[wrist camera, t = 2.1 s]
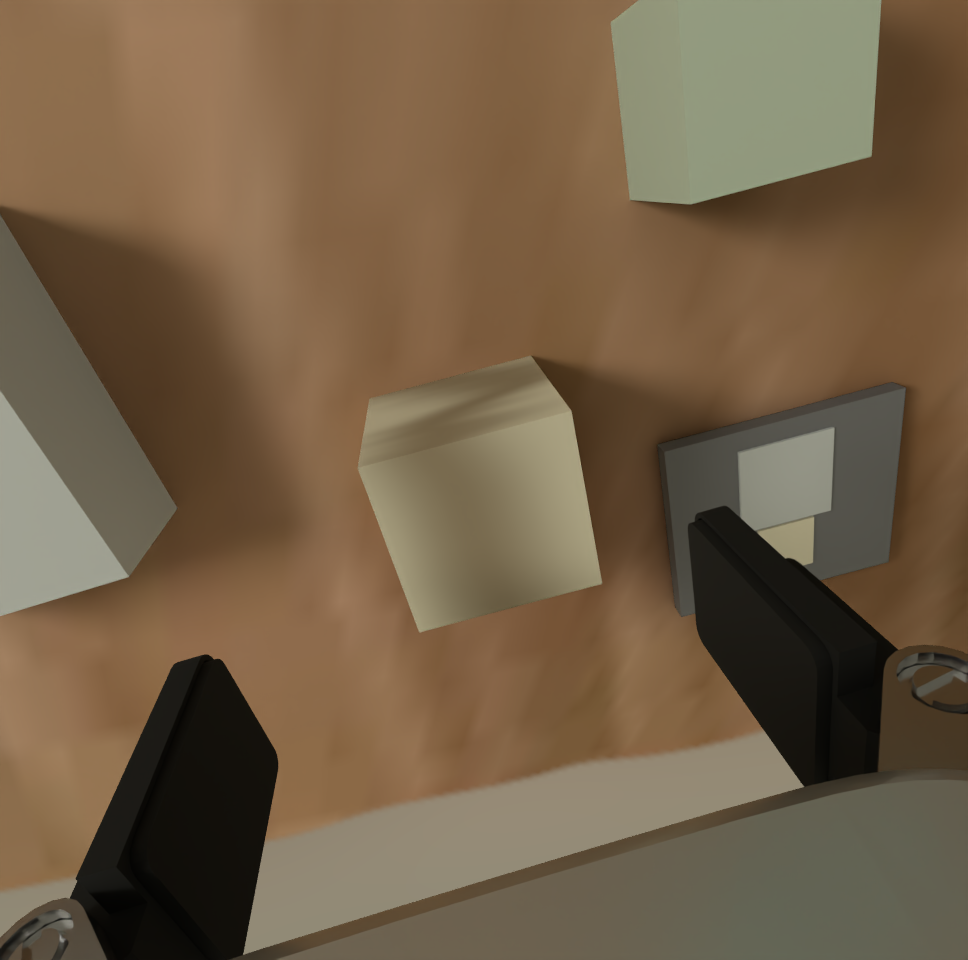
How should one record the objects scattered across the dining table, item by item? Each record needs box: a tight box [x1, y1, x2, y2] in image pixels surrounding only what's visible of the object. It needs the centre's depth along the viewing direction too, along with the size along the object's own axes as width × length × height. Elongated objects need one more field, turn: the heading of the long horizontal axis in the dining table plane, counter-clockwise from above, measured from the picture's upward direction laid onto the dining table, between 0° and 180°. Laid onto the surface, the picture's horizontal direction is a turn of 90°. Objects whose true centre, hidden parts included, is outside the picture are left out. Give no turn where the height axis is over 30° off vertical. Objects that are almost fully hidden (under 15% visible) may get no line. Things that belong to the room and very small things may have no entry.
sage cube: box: [611, 0, 881, 204], centre depth 14 cm, size 4×4×4 cm
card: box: [657, 382, 906, 617], centre depth 21 cm, size 8×7×1 cm
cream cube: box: [358, 356, 602, 632], centre depth 17 cm, size 5×5×5 cm
